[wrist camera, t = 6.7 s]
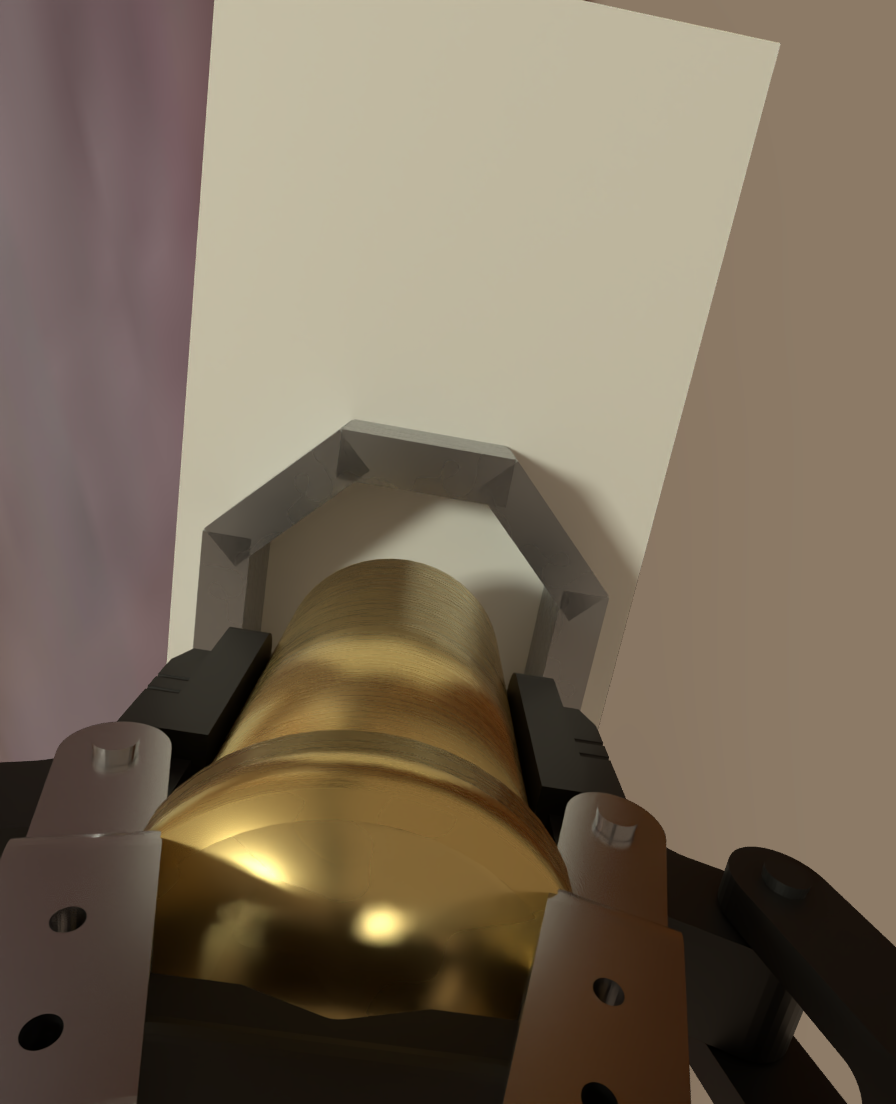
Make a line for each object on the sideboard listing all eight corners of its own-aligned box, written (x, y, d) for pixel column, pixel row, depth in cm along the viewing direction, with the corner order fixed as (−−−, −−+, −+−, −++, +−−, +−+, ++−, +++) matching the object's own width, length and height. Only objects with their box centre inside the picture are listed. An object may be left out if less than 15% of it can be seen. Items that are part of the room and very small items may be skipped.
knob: (284, 524, 14) (81, 750, 6) (535, 567, 14) (654, 835, 6) (257, 748, 15) (63, 1169, 7) (487, 782, 15) (534, 1221, 8)
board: (234, -50, 14) (220, -79, 13) (758, 63, 15) (780, 42, 14) (169, 795, 20) (155, 818, 19) (553, 850, 20) (559, 875, 19)
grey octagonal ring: (240, 399, 16) (183, 413, 12) (615, 465, 16) (662, 497, 13) (200, 827, 19) (146, 936, 15) (515, 872, 19) (532, 986, 16)
